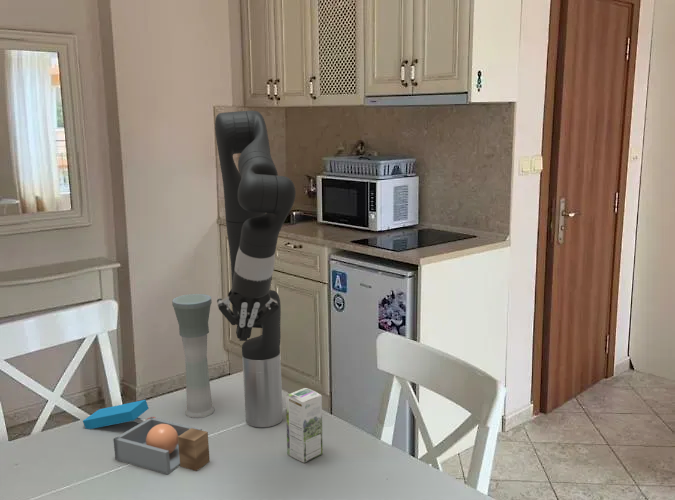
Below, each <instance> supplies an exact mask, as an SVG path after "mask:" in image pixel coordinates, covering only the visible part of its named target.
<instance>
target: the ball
mask: <svg viewBox="0 0 675 500" xmlns="http://www.w3.org/2000/svg"><path fill="white" fill-rule="evenodd" d="M177 444H178V434H177V431H176V430H175V429H174V428H173V427H172V426H170V425H168V424H158V425H156V426H154V427H153V428H151V429H150V431H149V432H148V434H147V437H146V445H149V446H153V447H156V448H160V449H164V450H168V451H169V454H170V453H172V452H173V451H174V450H175V448H176V447H177Z"/></svg>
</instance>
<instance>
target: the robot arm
mask: <svg viewBox="0 0 675 500" xmlns="http://www.w3.org/2000/svg"><path fill="white" fill-rule="evenodd" d="M214 126H215V127H214V130H215V139H216V140H215V141H216V145H217V152H218V159H219V164H220V165H219V166H220V171H221V177H222V185H223V186H222V187H223V196H224V198H223V199H224V211H225V212H224V214H225V215H224V216H225V224H226V233H227V241H228V242H227V243H228V248H229V258H230V269H231V271H230V273H231V289H230V290H229V291H228V293H227V294H228V295H227V296H226V297H224V298H218V299H217V300H216V304H217V307H218V310H219V311H220V312H221V314H222V315H223V316H224V318H226V320H227V321H228V322H229V323H230V325H232V326H236V330H235V334H236V337H237V339H238V340H239V341H240V342H243V343H242V345H241V356H242V357H241V358H242V374H243V390H244V391H243V394H244V410H245V411H244V412H245V422H246V423H247V424H248V425H249V426H251V427H255V428H269V427H270V428H271V427H274V426H276V425H277V424H280V423H281V422H282V421H283V419H284V409H283V386H282V384H283V383H282V365H281V364H282V363H281V318H282V317H281V315H282V314H281V313H282V311H281V298H280V295H279V294H278V292H277V291H275V290H271V289H270V288H271V284H272V279H273V273H274V271H275V261H276V251H277V250H276V249H277V244H278V238H279V235H280V232H281V229H282V227H283V226H284V223H285V221H286V219H287V217H288V216H289V214H290V212H291V210H292V208H293V205H294V203H295V200H296V188H295V184H294V182H293V181H292V180H291V179H290V178H289V177H287V176H283V175H279V174H278V170H277V168H276V165H275V163H274V161H273V158H272V154H271V147H270V140H269V134H268V129H267V124H266V121H265V118H264V117H263V115H262V114H261V113H260V111H257V110H241V111H240V110H239V111H227V112H220V113H218V114H217V115H216V116H215V122H214ZM236 154H240V155H239V157H238V162H237V165H236V163H235V160H234V157H233V156H234V155H236ZM237 167H238V168H237ZM230 304H231V305H230ZM231 309H232V310H231ZM253 328H255V329H261V330H262V331H261V332H262V333H261V334H260V335H258V336H254V337H252V338H250V337H251V336H252V331H253V330H252V329H253Z"/></svg>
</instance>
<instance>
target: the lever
mask: <svg viewBox="0 0 675 500" xmlns="http://www.w3.org/2000/svg"><path fill="white" fill-rule="evenodd" d="M148 410H149V406H148V402H147V400H146V399H142V400H137V401H133V402H128V403H123V404H118V405H112V406H108V407H104V408H99V409H97V410H96V411H94V412H93V413H92V414H90V415H88V416H87V417H86V418H84V420H82V422H83V426H84V428H85V429H86V430H93V429H98V428H103V427H108V426H112V425H118V424H123V423H127V422H134V423H137V424H140V423H142V422H144V421H145V420H146V419H145V418H141V417H140V416H141V415H143V414H144V413H145V412H147V411H148ZM151 417H153V418H156V417H155V416H150V417H148V418H147V419H149V418H151Z"/></svg>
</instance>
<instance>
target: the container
mask: <svg viewBox="0 0 675 500" xmlns="http://www.w3.org/2000/svg"><path fill="white" fill-rule="evenodd" d="M171 302H172V305H171V306H172V307H173V309H174V313H175V316H176V320H177V323H178V331H179V336H180V337H181V341H182V347H183V353H184V358H185V359H184V360H185V384H186V385H185V386H186V389H185V390H186V393H185V394H186V410H185V415H186V417H189V418H193V419H200V418H201V419H202V418H205V417H206V418H207V417H209V416H211V415H212V414H214V412H215V408H214V406H213V399H212V390H211V384H210V382H211V381H210V376H209V374H210V373H209V365H208V364H209V363H208V335H209V333H210V329H209V317H210V311H211V306H212V302H213V301H212V296H211V295H208V294H202V293H194V294H193V293H190V294H183V295H179V296H177V297H175V298H173V299H172V301H171Z"/></svg>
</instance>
